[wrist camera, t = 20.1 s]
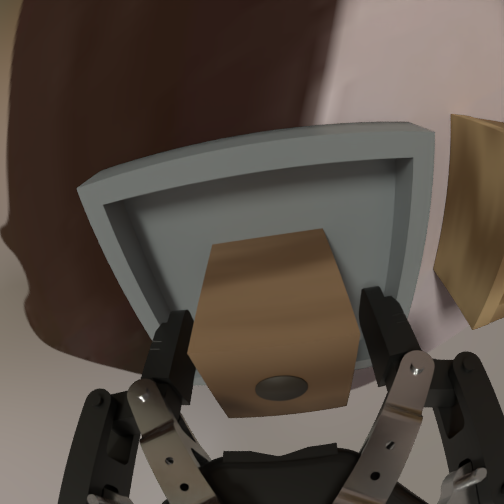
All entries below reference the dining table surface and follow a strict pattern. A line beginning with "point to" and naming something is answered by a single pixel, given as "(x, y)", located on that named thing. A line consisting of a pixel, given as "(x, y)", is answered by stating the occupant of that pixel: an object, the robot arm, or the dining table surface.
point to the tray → (267, 210)
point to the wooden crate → (474, 221)
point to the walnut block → (275, 327)
